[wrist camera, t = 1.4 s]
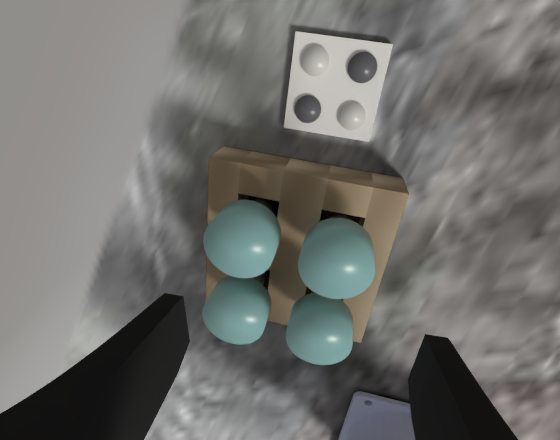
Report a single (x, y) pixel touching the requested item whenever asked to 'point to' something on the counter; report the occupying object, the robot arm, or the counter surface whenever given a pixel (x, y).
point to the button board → (306, 217)
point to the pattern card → (335, 85)
